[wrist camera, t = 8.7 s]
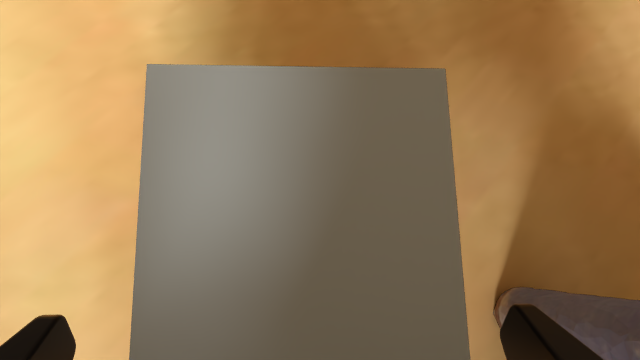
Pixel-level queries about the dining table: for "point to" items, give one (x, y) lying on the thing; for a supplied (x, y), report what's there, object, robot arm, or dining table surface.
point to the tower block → (297, 216)
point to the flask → (584, 318)
